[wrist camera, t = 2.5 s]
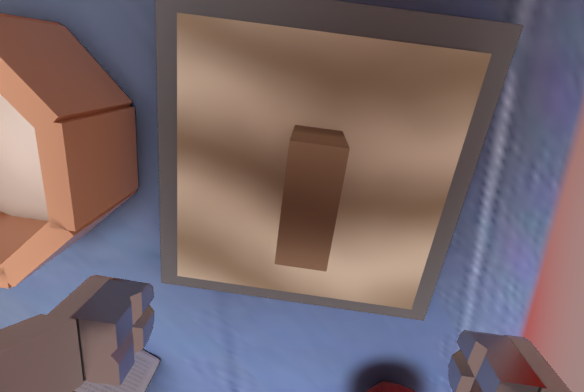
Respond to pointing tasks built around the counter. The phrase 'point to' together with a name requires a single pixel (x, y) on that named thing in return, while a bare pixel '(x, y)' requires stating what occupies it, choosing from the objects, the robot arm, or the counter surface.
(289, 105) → the lid
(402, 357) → the counter surface
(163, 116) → the mat
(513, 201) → the counter surface
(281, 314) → the counter surface
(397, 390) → the onion
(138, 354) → the syrup box
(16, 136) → the bowl
